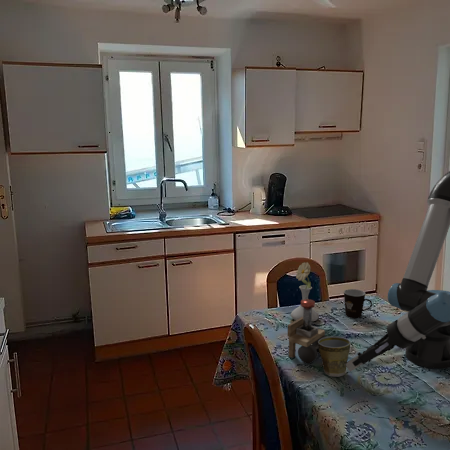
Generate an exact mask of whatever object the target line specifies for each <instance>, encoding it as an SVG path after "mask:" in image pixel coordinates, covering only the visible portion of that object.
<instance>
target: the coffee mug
mask: <svg viewBox="0 0 450 450" xmlns="http://www.w3.org/2000/svg"><path fill="white" fill-rule="evenodd" d="M343 300H344V310H345V311H344V313H345V316H346V317H347V318H350V319H360V318H362V316H363V312H365V311H368V310H370V309H371V308H372V306H373V302H372V300H371V299H369V298H366V292H365V291H364V290H361V289H356V288H355V289H354V288H348V289H344V291H343ZM365 301H368V302H369V303H370V306H369V307H367V308H364V303H365Z"/></svg>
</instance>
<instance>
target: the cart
mask: <svg viewBox="0 0 450 450" xmlns="http://www.w3.org/2000/svg"><path fill="white" fill-rule="evenodd" d="M287 337H288V357H290V358H292V359H294V358H295V357H296V346H297V345H298V346H299V348H298V350H297V355H298V358H299V360H300V361H302V363H305V364H311V363H313V362H314V361H316V360H317V358H318V354H320V351H319V346H318V340H319V339H321V338H324V337H327V336H326V330H324V329H322V328H321V329H320V328H319V327H317V326H314V325H311V331H306V330H303V317H301V318H299V319H298V320H294V321H293V322H291V323H289V324H287Z"/></svg>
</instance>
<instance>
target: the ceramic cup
mask: <svg viewBox="0 0 450 450" xmlns="http://www.w3.org/2000/svg"><path fill="white" fill-rule="evenodd" d="M318 346H319V351H320V353H319V355H320V358H321V363H322V367H323V372H324V374H326V375H327V376H329V377H336V378H337V377H338V378H339V377H343V376H345V375H346V372H347V367H346V366H345V365H346V363H347V362H348V358H349V354H350V348H351V341H350V340H349V339H348V338H346V337H342V336H337V335H335V336H326V337H324V338H321V339H319V340H318Z"/></svg>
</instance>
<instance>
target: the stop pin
mask: <svg viewBox="0 0 450 450" xmlns="http://www.w3.org/2000/svg"><path fill="white" fill-rule="evenodd" d="M300 305H301V306H302V307H303V330H306V331H311V326H312V323H313V322H312V308H313V309H314V308H315V306H316V301H315V300H314V299H309V298H308V299H304V300H302V299H301V300H300Z"/></svg>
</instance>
